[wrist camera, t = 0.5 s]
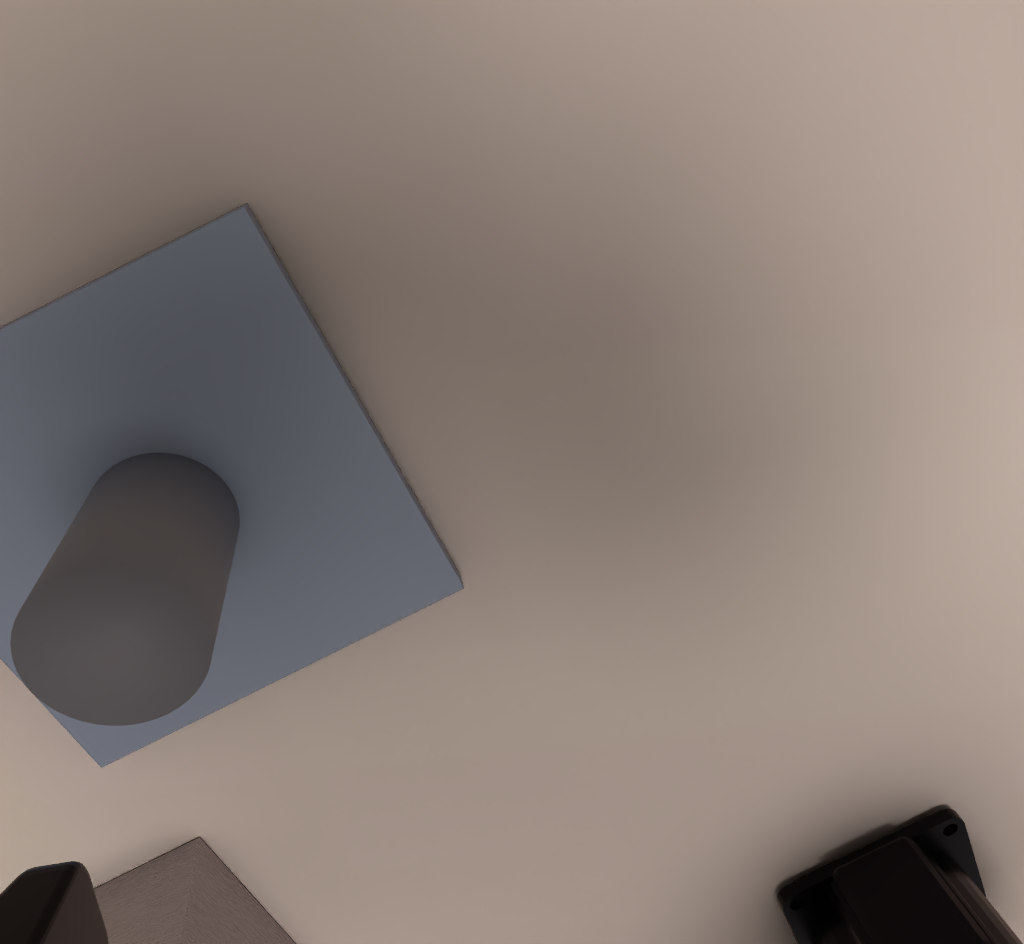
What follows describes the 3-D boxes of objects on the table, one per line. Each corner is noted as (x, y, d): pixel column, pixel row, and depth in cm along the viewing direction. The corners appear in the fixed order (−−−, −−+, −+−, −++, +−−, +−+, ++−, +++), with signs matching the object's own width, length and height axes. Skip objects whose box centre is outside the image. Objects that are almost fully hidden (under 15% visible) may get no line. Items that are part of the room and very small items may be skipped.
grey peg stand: (460, 575, 22) (498, 720, 17) (106, 751, 22) (40, 945, 17) (247, 203, 18) (212, 250, 13) (-191, 423, 18) (-395, 555, 13)
